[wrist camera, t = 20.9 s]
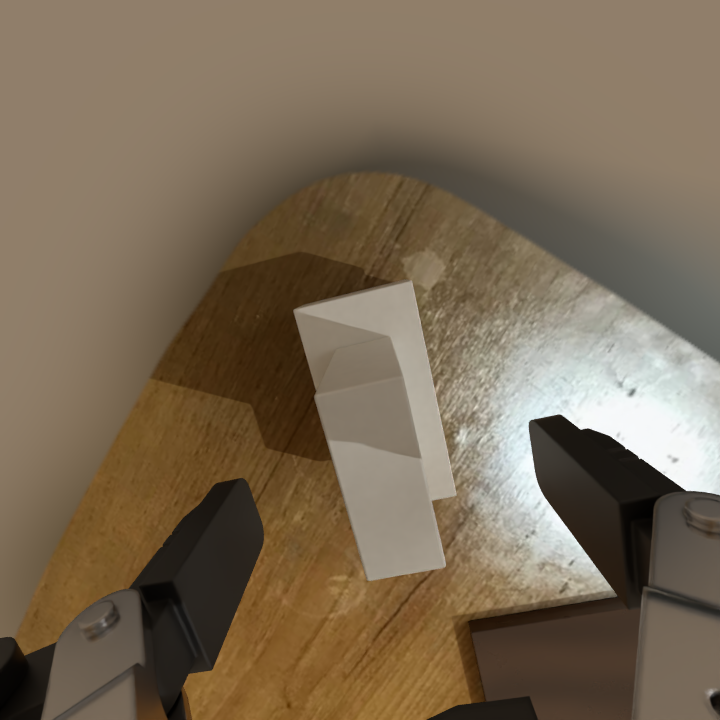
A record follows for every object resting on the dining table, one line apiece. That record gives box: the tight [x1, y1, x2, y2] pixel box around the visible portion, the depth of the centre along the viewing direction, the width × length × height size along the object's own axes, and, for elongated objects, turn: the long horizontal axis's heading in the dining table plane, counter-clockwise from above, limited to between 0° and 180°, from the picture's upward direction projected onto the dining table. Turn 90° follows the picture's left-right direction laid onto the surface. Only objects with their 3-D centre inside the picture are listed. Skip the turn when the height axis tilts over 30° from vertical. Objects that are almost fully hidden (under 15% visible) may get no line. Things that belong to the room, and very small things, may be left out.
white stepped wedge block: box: [293, 279, 456, 581], centre depth 15 cm, size 5×10×10 cm, turn 14°
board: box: [468, 597, 641, 720], centre depth 24 cm, size 12×16×1 cm
